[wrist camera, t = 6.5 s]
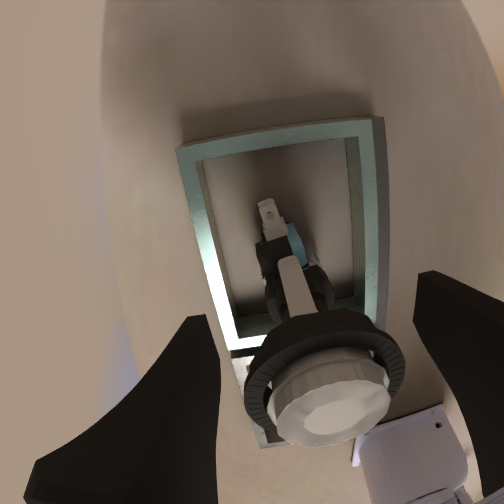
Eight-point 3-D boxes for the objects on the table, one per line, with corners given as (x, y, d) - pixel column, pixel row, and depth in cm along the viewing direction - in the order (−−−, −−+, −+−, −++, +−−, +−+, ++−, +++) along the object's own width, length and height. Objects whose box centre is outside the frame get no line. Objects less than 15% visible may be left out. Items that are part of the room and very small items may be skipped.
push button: (215, 214, 16) (190, 358, 7) (316, 178, 16) (415, 284, 6) (258, 315, 19) (274, 470, 10) (345, 286, 18) (413, 427, 9)
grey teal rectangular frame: (373, 115, 14) (391, 117, 12) (368, 407, 24) (374, 425, 22) (182, 143, 14) (175, 149, 13) (259, 429, 24) (260, 448, 22)
